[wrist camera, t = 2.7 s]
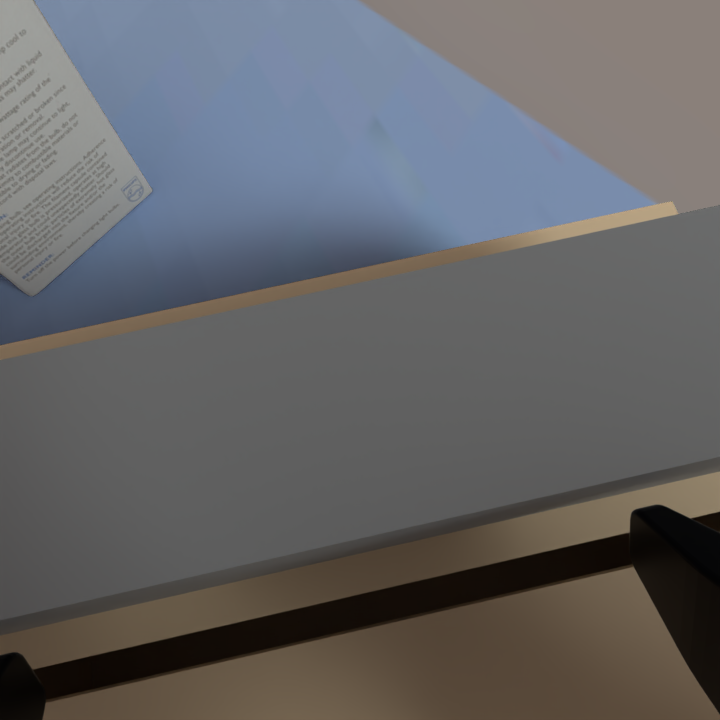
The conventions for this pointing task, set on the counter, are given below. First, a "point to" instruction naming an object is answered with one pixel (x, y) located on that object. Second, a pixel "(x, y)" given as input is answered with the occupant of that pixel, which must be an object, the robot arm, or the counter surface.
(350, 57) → the counter surface
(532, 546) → the grey stone
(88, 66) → the counter surface
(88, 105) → the light bulb box
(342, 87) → the counter surface
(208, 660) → the carton
